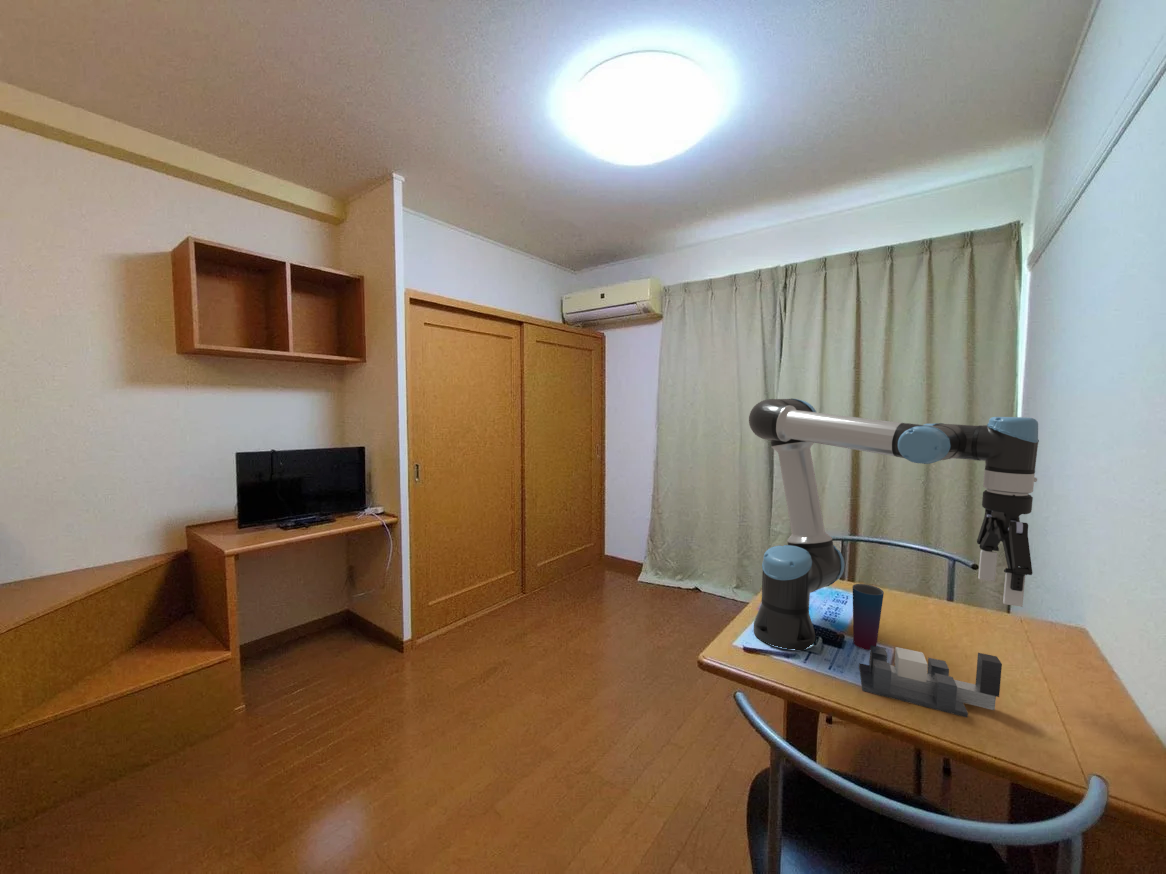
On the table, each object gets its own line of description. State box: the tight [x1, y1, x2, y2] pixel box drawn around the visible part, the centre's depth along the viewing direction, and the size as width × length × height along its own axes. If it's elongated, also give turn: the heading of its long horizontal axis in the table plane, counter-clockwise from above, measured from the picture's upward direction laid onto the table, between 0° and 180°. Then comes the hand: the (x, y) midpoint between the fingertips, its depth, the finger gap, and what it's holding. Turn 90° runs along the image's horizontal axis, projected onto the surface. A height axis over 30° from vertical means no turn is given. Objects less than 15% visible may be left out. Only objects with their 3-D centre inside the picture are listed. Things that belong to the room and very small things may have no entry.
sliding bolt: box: [890, 652, 1003, 711], centre depth 97 cm, size 20×3×10 cm, turn 62°
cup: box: [852, 583, 885, 651], centre depth 117 cm, size 7×7×15 cm
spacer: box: [894, 646, 928, 682], centre depth 99 cm, size 5×5×4 cm
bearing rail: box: [858, 645, 969, 718], centre depth 99 cm, size 18×10×6 cm, turn 62°
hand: (998, 591), depth 95 cm, fingers open, 13 cm apart
